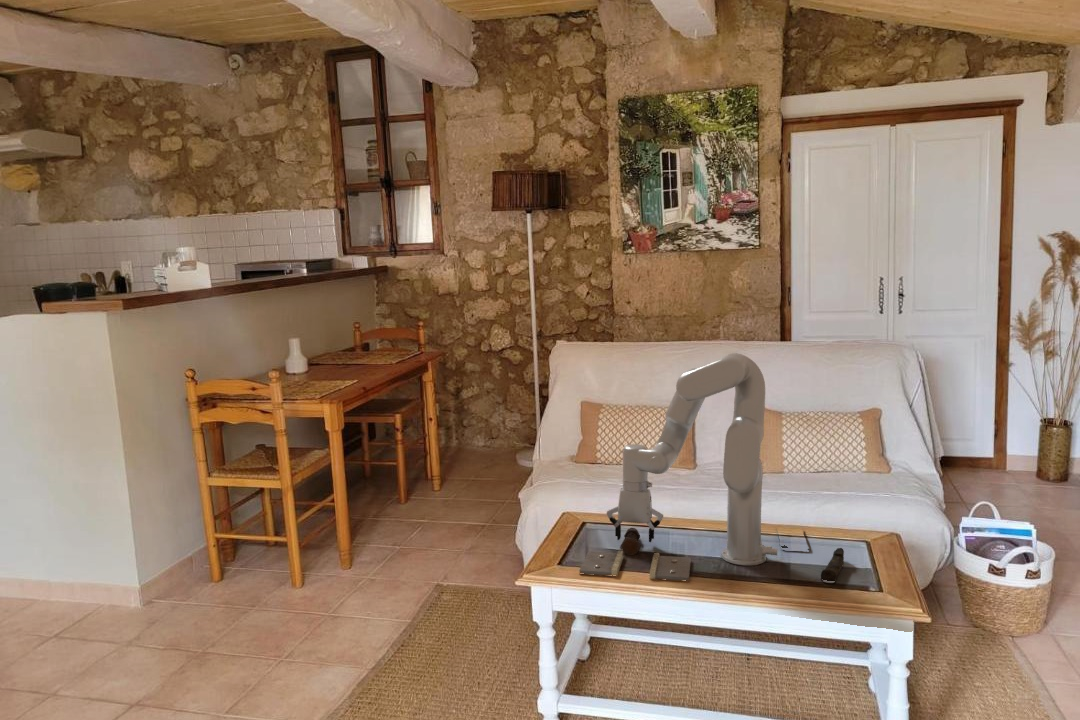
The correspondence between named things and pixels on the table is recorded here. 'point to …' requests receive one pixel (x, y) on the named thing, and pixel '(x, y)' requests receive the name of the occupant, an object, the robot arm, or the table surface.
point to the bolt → (631, 542)
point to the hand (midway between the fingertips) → (634, 539)
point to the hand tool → (833, 566)
